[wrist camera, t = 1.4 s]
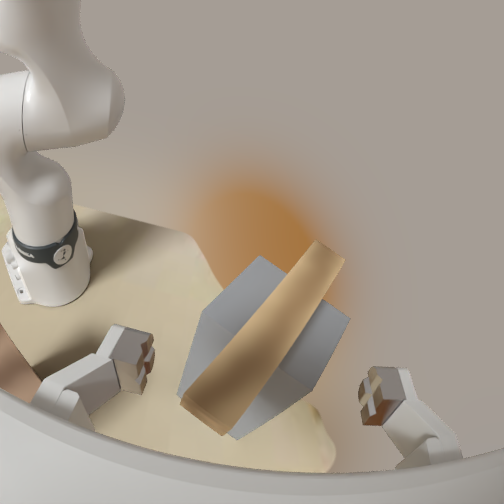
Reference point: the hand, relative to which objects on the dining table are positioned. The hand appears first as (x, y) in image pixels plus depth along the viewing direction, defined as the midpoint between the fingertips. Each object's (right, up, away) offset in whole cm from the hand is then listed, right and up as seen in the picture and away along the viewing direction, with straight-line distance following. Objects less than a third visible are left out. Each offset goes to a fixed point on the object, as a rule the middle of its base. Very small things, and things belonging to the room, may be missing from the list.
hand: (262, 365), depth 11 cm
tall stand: (-5, -19, +37) cm, 42 cm away
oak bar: (+2, -3, +18) cm, 18 cm away
